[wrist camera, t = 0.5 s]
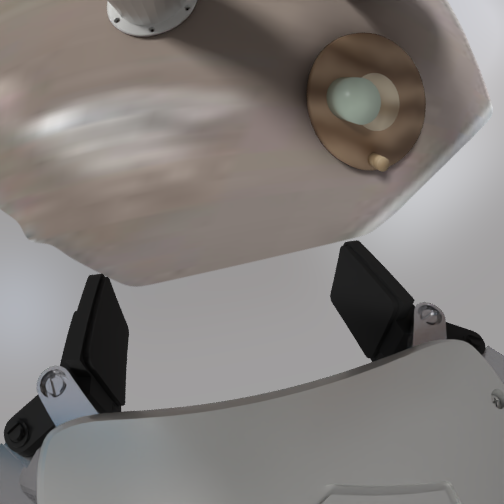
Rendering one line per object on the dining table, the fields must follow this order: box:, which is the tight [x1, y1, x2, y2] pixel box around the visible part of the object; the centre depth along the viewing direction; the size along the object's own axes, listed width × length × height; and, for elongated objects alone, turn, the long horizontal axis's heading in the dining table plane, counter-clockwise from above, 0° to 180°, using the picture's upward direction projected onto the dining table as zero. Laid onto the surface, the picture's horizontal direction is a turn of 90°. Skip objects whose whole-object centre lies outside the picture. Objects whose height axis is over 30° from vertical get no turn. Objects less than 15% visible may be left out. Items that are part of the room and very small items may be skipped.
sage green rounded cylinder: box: [326, 77, 381, 125], centre depth 34 cm, size 7×7×4 cm
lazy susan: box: [307, 33, 426, 172], centre depth 36 cm, size 24×24×4 cm
